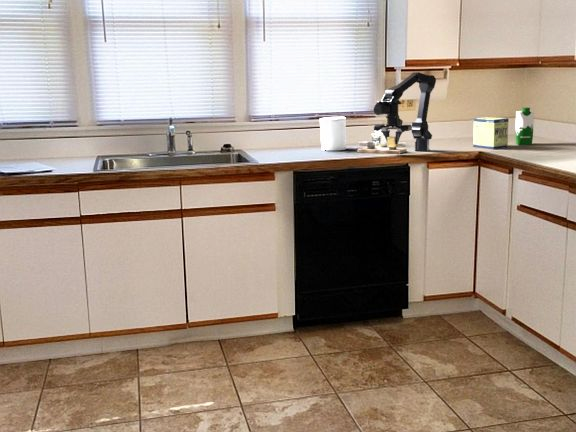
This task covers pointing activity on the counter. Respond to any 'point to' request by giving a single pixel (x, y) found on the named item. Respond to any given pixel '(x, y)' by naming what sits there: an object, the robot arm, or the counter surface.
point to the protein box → (490, 133)
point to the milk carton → (524, 126)
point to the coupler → (391, 141)
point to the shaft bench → (372, 149)
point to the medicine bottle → (379, 139)
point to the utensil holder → (333, 133)
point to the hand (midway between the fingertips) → (392, 144)
